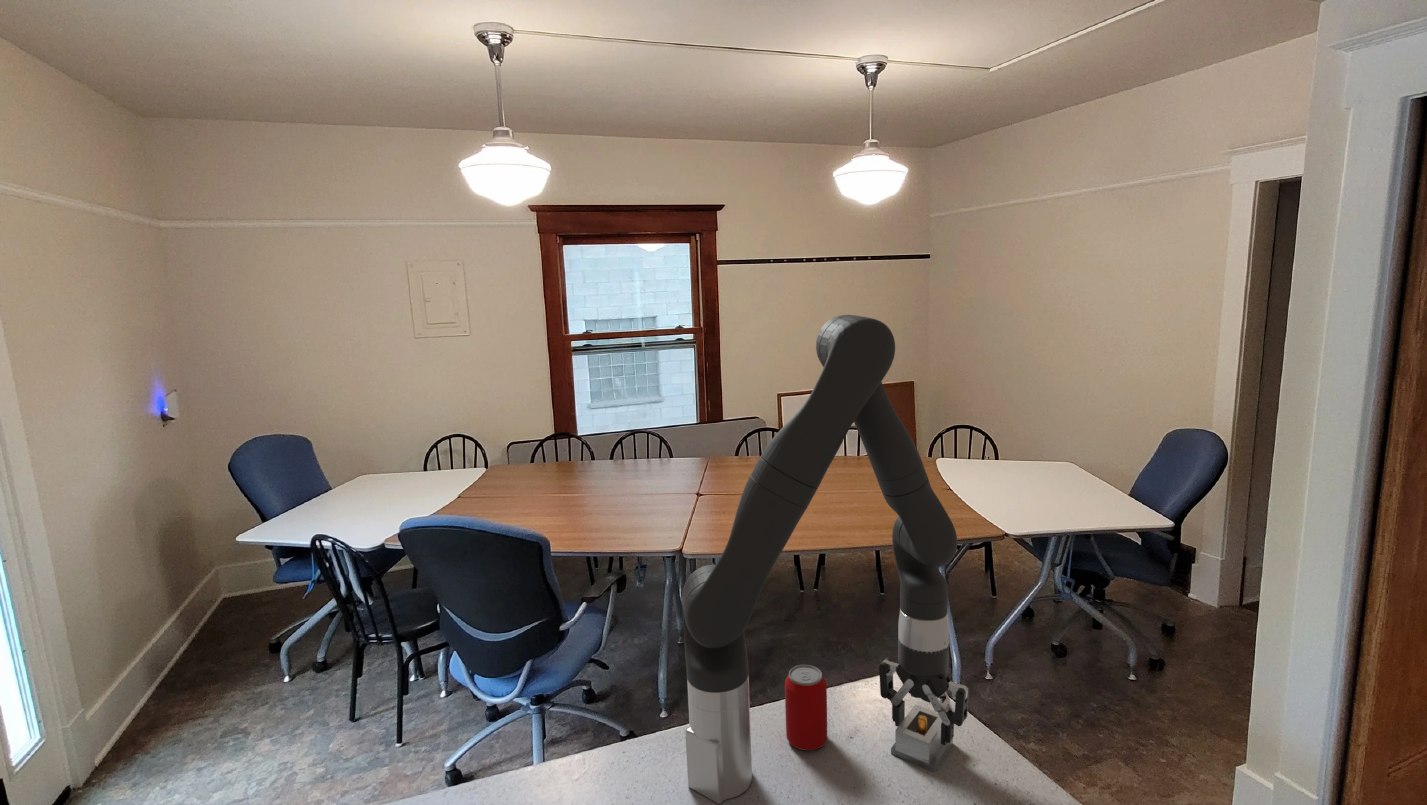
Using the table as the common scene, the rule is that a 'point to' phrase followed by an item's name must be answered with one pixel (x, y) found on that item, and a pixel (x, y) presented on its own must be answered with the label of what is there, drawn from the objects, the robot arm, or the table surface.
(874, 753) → the table surface
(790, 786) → the table surface
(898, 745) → the silver frame
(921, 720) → the grey peg base
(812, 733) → the beverage can
